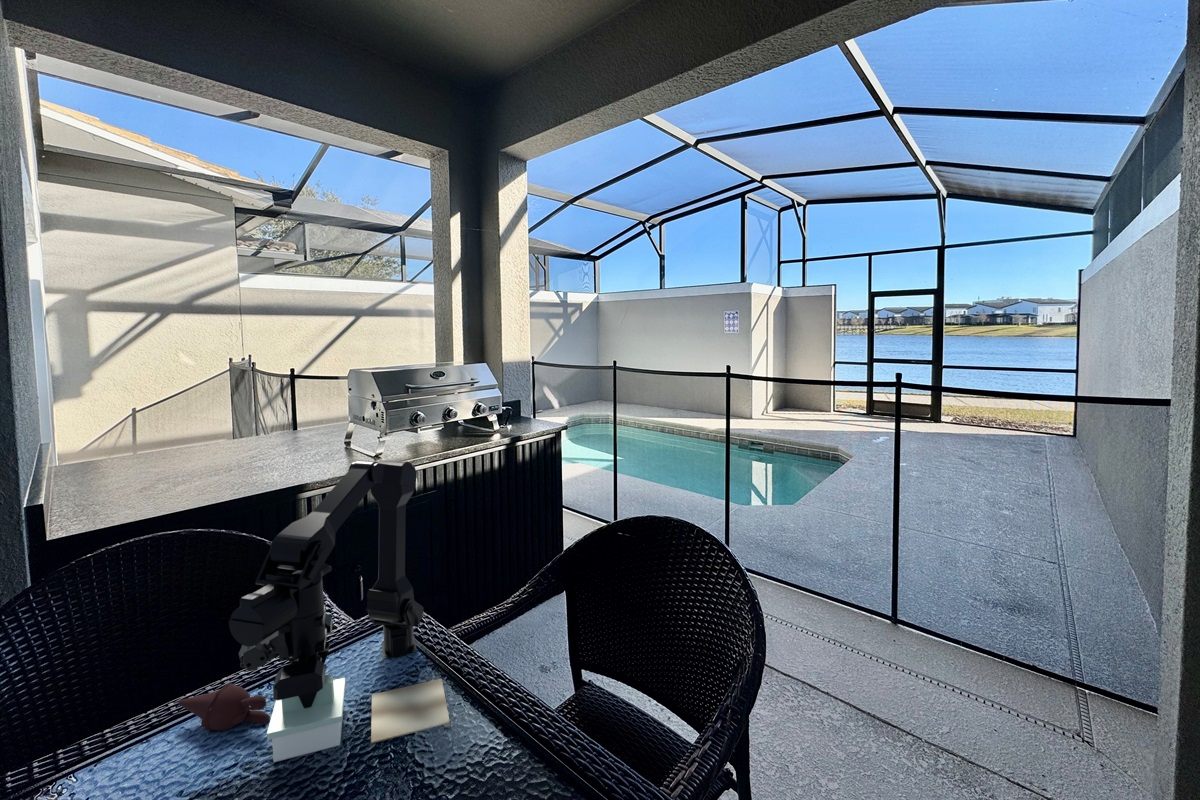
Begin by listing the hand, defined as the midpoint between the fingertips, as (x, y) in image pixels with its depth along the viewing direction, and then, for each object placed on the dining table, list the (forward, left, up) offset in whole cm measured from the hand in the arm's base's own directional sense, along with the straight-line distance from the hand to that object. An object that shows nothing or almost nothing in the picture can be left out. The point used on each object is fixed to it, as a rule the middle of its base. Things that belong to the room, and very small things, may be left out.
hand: (308, 701), depth 85 cm
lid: (0, 0, -2) cm, 2 cm away
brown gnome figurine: (-8, -13, -6) cm, 17 cm away
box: (0, 0, -6) cm, 6 cm away
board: (0, +15, -6) cm, 16 cm away
